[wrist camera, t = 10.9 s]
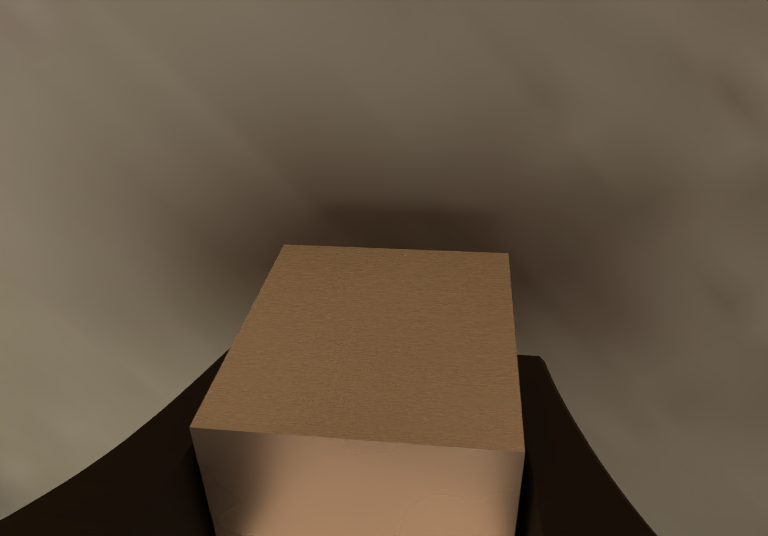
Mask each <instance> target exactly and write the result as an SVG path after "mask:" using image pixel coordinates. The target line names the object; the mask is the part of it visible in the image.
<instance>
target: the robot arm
mask: <svg viewBox="0 0 768 536" xmlns="http://www.w3.org/2000/svg"><path fill="white" fill-rule="evenodd" d="M229 350H230V349H229ZM229 350H227V351H226V352H225V353H224V354H223V355H222V356H221V357H220V358H219V359H218V360H217V361H216V362H215V363H214V364H212V365H211V366H210V367H209V368H208V369H207V370H206V371H205V372H204V373H203V374H202V375H201V376H200V377H198V378H197V379H196V380H195V381H194V382H193V383H192V384H191V385H190V386H189V387H188V388H186V389H185V390H184V391H183V392H182V393H181V394H180V395H179V396H177V397H176V398H175V399H174V400H173V401H172V402H171V403H170V404H168V405H167V406H166V407H165V408H164V409H163V410H162V411H160V412H159V413H158V414H157V415H156V416H154V417H153V418H152V419H151V420H149V421H148V422H147V423H146V424H145V425H143V426H142V427H141V428H140V429H138V430H137V431H136V432H135V433H133V434H132V435H131V436H130V437H129V438H127V439H126V440H125V441H123V442H122V443H121V444H119V445H118V446H117V447H115V448H114V449H113V450H111V451H110V452H109V453H107V454H106V455H104V456H103V457H102V458H100V459H99V460H97V461H96V462H94V463H93V464H91V465H90V466H89V467H87V468H86V469H84V470H83V471H81V472H80V473H78V474H77V475H75V476H74V477H72V478H71V479H69V480H68V481H66V482H64V483H63V484H61V485H59V486H58V487H56V488H54V489H53V490H51V491H50V492H48V493H46V494H45V495H43V496H41V497H40V498H38V499H36V500H35V501H33V502H31V503H30V504H28V505H26V506H25V507H23V508H21V509H20V510H18V511H16V512H14V513H13V514H11V515H9V516H7V517H5V518H4V519H2V520H0V536H216V533H215V529H214V525H213V521H212V517H211V513H210V509H209V505H208V501H207V497H206V493H205V489H204V485H203V481H202V476H201V472H200V468H199V464H198V460H197V456H196V452H195V448H194V444H193V440H192V436H191V432H190V428H189V427H190V425H191V423H192V421H193V419H194V417H195V415H196V413H197V411H198V409H199V408H200V406H201V404H202V402H203V400H204V398H205V396H206V394H207V392H208V390H209V388H210V386H211V384H212V382H213V380H214V379H215V377H216V375H217V373H218V371H219V369H220V367H221V365H222V363H223V361H224V359H225V357H226V355H227V353H228V352H229ZM517 362H518V374H519V386H520V398H521V409H522V421H523V433H524V445H525V457H524V465H523V473H522V481H521V489H520V496H519V504H518V512H517V520H516V528H515V536H657V535H656V534H655V532H654V531H653V530H652V529H651V528H650V527H649V525H648V524H647V523H646V522H645V520H644V519H643V518H642V517H641V516H640V514H639V513H638V512H637V511H636V509H635V508H634V507H633V506H632V504H631V503H630V502H629V501H628V499H627V498H626V497H625V495H624V494H623V493H622V491H621V490H620V489H619V487H618V486H617V485H616V483H615V482H614V480H613V479H612V478H611V476H610V475H609V473H608V472H607V470H606V469H605V468H604V466H603V465H602V463H601V462H600V460H599V459H598V457H597V456H596V454H595V453H594V451H593V450H592V448H591V447H590V445H589V444H588V442H587V440H586V439H585V437H584V435H583V434H582V432H581V431H580V429H579V427H578V426H577V424H576V423H575V421H574V419H573V417H572V416H571V414H570V412H569V410H568V409H567V407H566V405H565V403H564V401H563V399H562V398H561V396H560V394H559V392H558V390H557V388H556V386H555V384H554V382H553V380H552V378H551V375H550V373H549V371H548V369H547V366H546V364H545V362H544V360H543V359H542V358H541V357H540V356H527V355H517Z"/></svg>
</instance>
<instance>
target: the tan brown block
mask: <svg viewBox="0 0 768 536" xmlns="http://www.w3.org/2000/svg"><path fill="white" fill-rule="evenodd" d="M189 428H190V432H191V436H192V440H193V444H194V448H195V452H196V456H197V460H198V464H199V468H200V472H201V476H202V481H203V485H204V489H205V493H206V497H207V501H208V505H209V509H210V513H211V517H212V521H213V525H214V529H215V533H216V536H515V528H516V520H517V512H518V504H519V496H520V489H521V481H522V473H523V465H524V457H525V445H524V433H523V421H522V409H521V398H520V386H519V374H518V362H517V350H516V338H515V326H514V314H513V302H512V290H511V278H510V266H509V254H508V253H488V252H462V251H437V250H411V249H386V248H361V247H335V246H310V245H285V244H284V245H283V247H282V249H281V251H280V253H279V255H278V257H277V259H276V261H275V263H274V265H273V267H272V269H271V270H270V272H269V274H268V276H267V278H266V280H265V282H264V284H263V286H262V288H261V290H260V292H259V294H258V296H257V297H256V299H255V301H254V303H253V305H252V307H251V309H250V311H249V313H248V315H247V317H246V319H245V321H244V323H243V325H242V326H241V328H240V330H239V332H238V334H237V336H236V338H235V340H234V342H233V344H232V346H231V348H230V350H229V352H228V353H227V355H226V357H225V359H224V361H223V363H222V365H221V367H220V369H219V371H218V373H217V375H216V377H215V379H214V380H213V382H212V384H211V386H210V388H209V390H208V392H207V394H206V396H205V398H204V400H203V402H202V404H201V406H200V408H199V409H198V411H197V413H196V415H195V417H194V419H193V421H192V423H191V425H190V427H189Z"/></svg>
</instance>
